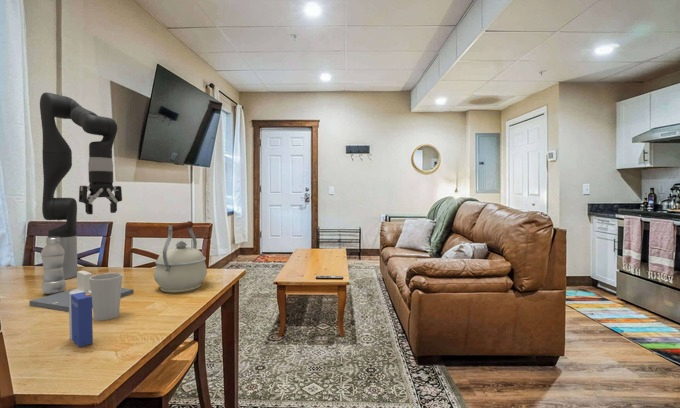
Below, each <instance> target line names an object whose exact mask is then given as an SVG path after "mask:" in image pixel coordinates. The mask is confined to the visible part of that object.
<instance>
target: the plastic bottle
mask: <svg viewBox="0 0 680 408" xmlns="http://www.w3.org/2000/svg"><path fill="white" fill-rule="evenodd" d="M59 242H60V241H59V237H48V236H47V237H45V244H46V245H45V246H44V247H43V248H42V249H41V252H40V256H41V260H42V261H41V262H42V268H43V269H42V270H43V276H42V277H43V278H42V282H41V283H42V284H41V291H42V293H43V294H44V295H53V294H57V293H60V292H64V291H66V285H67V284H66V279H64V273H63V261H64V254H65V251H64V249H63V248H62V246H61V245H60V244H59Z"/></svg>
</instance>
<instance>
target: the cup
mask: <svg viewBox="0 0 680 408" xmlns="http://www.w3.org/2000/svg"><path fill="white" fill-rule="evenodd" d="M122 280H123V274H122V273H120V272H105V273H100V274H99V273H98V274H95V275H92V277H90V278H89V281H90V288H91V297H92V306H93V307H92V320H94V321H106V320H111V319H115V318H118V316H120V306H121V298H120V296H121V288H122V282H123V281H122Z"/></svg>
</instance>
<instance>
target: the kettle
mask: <svg viewBox="0 0 680 408" xmlns="http://www.w3.org/2000/svg"><path fill="white" fill-rule="evenodd" d="M193 226H194V222H193V221H191V220H190V221H189V220H188V221H184V222H179V223H175V224H169V225H167V231H168V232H167V233H168V234H167V238H166V239H165V240H166V241H165V243H164V246H163V248H162V252H161V253H160V254H159V255H158V257H157V259H155V260H154V263H155V268H154V271H153V279H154V281H155V282H156V285H159V286H160V290H161V291H162V292H164V293H173V294H175V293H177V294H178V293H184V292H190V291H193V290H197V289H199V288H200V287H201V286H202V282H203V281H204V280H205V279H206V277H207V274H208V267H207V264H206V259H207V257H206V256H204V254H203V253H202V252H201V250H199V249H198V248H197V247H198V245H197V244H198V243H197V238H196V236H195V234H194V233H195V232H194V231H193ZM185 229H188V232H189V235H190V237H191V239H192V245H193V246H192V247H189V246H187V243H186V241H185V242H184V241H183V240H180V241H178V242H176V244H175V247H173V248H169V245H170V243H171V240H172V237H173V233H174V232H175V231H182V230H185ZM168 248H169V249H168Z"/></svg>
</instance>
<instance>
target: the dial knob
mask: <svg viewBox="0 0 680 408" xmlns="http://www.w3.org/2000/svg"><path fill="white" fill-rule="evenodd" d="M92 276H93V274H92V273H91V272H88V271H87V270H77V276H76V288H77V289H75V288H73V289H74V290H72V289H70V290H71V291H70V292H69V293H71V292H77V291H83V292H85V293H87V294H89V295H90V296H91V288H90V281H89V278H90V277H92Z"/></svg>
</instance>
